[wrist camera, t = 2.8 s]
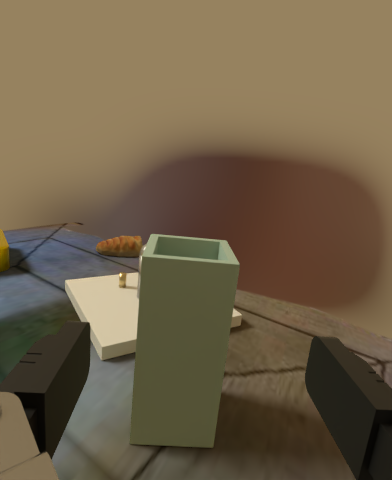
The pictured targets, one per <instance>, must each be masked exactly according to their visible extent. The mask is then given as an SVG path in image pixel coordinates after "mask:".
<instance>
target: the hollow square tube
mask: <svg viewBox="0 0 392 480" xmlns="http://www.w3.org/2000/svg"><path fill="white" fill-rule="evenodd" d="M239 266H240V264H239V263H238V261H237V259H236V257H235V255H234V254H233V252H232V250H231V248H230V246H229V245H228V243H227V241H224V240H213V239H202V238H191V237H180V236H168V235H158V234H151V236H150V238H149V241H148V243H147V245H146V248H145V250H144V253H143V255H142V263H141V278H140V293H139V308H138V324H137V339H136V354H135V369H134V384H133V399H132V415H131V430H130V444H140V445H162V446H184V447H205V448H213V445H214V439H215V432H216V425H217V418H218V411H219V404H220V397H221V390H222V383H223V377H224V370H225V363H226V356H227V349H228V342H229V335H230V328H231V322H232V315H233V308H234V301H235V294H236V287H237V280H238V273H239Z"/></svg>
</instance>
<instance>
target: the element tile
mask: <svg viewBox="0 0 392 480" xmlns="http://www.w3.org/2000/svg"><path fill="white" fill-rule="evenodd" d="M9 268H10V261H9V245H8V243H7V241H6V238H5V236H4V233H3V231H2V230H1V229H0V272H2V271H6V270H8V269H9Z"/></svg>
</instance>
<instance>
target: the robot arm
mask: <svg viewBox="0 0 392 480" xmlns="http://www.w3.org/2000/svg"><path fill="white" fill-rule="evenodd" d="M90 332H91V328H90V323H89V322H78V321H66V322H65V324H64V325H63V326H62V328H61V329H60V330H59V332H58V333H57V334H56V335H47V336H45V337H43V338H42V339H40V340H38V341H37V342H35V343H34V344H33V346H32V347H31V348H30V349H29V350H28V352H27V354H26V355H24V356H23V358H22V359H21V360H20V362H19V363H18V364H17V365H16V366H15V367H14V368H13V370H12V371H11V372H10V373H9V375H8V376H7V377H6V378H5V379H4V381H3V382H2V383H1V384H0V480H59V478H58V476H57V473H56V471H55V468H54V466H53V463H52V461H51V459H52V457H53V455H54V453H55V450H56V448H57V446H58V444H59V441H60V439H61V437H62V435H63V432H64V430H65V428H66V426H67V423H68V421H69V419H70V417H71V414H72V412H73V410H74V408H75V405H76V403H77V401H78V399H79V396H80V394H81V392H82V390H83V387H84V385H85V383H86V380H87V377H88V373H89V367H90ZM305 383H306V388H307V391H308V393H309V395H310V397H311V399H312V401H313V402H314V404H315V406H316V408H317V410H318V411H319V413H320V415H321V417H322V419H323V420H324V422H325V424H326V426H327V428H328V429H329V431H330V433H331V435H332V437H333V438H334V440H335V442H336V444H337V446H338V447H339V449H340V451H341V453H342V455H343V456H344V458H345V460H346V462H347V464H348V465H349V467H350V469H351V471H352V473H353V474H354V476H355V478H356V480H392V389H391V388H390V387H389V385H388V384H387V383H384V380H383V379H382V378H381V377H380V376H379V375H378V374H376V372H375V371H374V370H373V368H372V367H371V366H370V365H369V364H368V363H367V362H366V361H364V360H363V359H361V358H360V357H358V356H357V355H355V354H354V353H352V352H350V351H349V350H348V349H347V348H346V347H345V346H344V345H343V344H342V342H341V341H340V340H339V339H338V338H335V337H319V336H315V337H314V338H313V340H312V343H311V347H310V353H309V358H308V363H307V368H306V373H305Z"/></svg>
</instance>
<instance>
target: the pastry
mask: <svg viewBox="0 0 392 480" xmlns="http://www.w3.org/2000/svg"><path fill="white" fill-rule="evenodd" d="M142 247H143V245H142V240H141V237H140V236H135V237H131V236H120V237H115V238H112V239H108V240H106V241H102V242H99V243H98V244H97V246H96V251H97V252H99V253H100V254H102V255H109V256H117V257H139V255H140V250H141V248H142Z"/></svg>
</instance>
